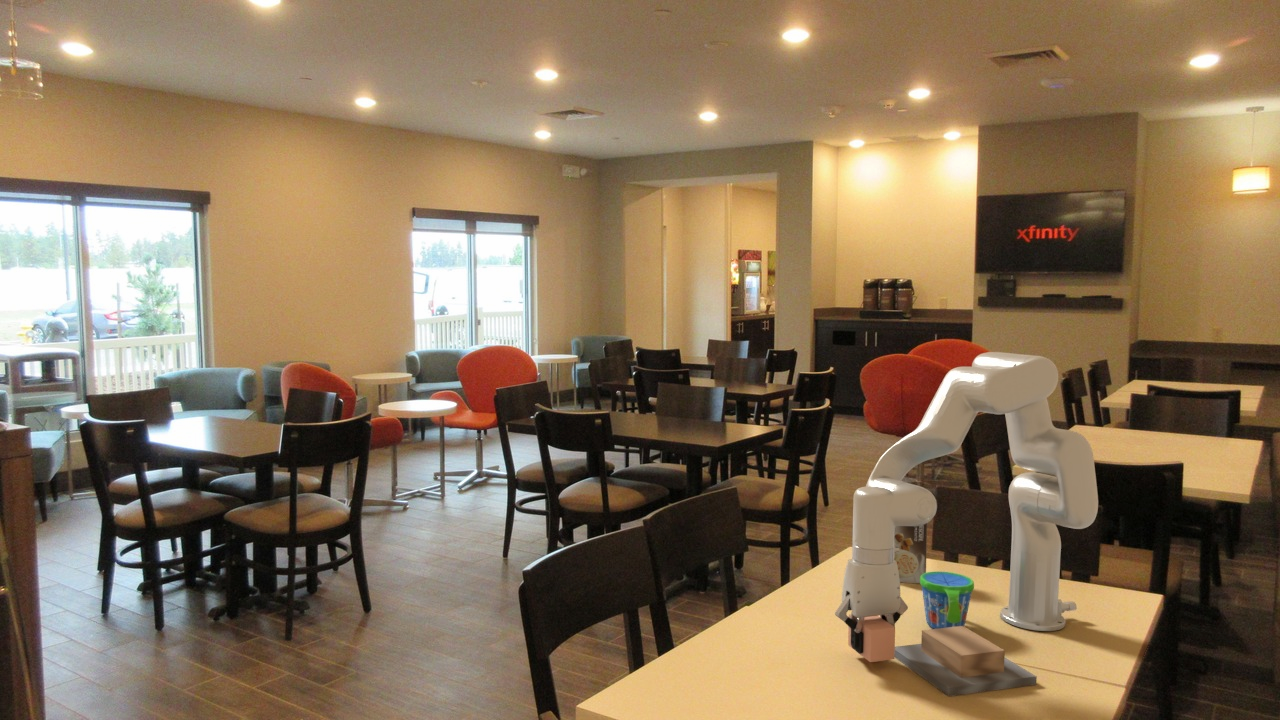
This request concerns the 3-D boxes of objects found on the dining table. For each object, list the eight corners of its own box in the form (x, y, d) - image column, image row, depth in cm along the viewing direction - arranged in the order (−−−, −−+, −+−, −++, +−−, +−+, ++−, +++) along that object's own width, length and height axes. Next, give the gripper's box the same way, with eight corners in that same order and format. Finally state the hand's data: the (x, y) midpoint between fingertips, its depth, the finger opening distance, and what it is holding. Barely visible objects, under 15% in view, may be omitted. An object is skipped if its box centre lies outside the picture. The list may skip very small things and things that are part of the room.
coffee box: (922, 576, 217) (924, 511, 215) (926, 584, 210) (928, 518, 209) (883, 573, 218) (885, 509, 217) (886, 582, 212) (888, 516, 211)
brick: (871, 642, 170) (872, 611, 170) (894, 658, 163) (895, 627, 162) (848, 645, 169) (848, 614, 168) (870, 662, 161) (871, 630, 161)
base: (971, 645, 174) (972, 618, 174) (1036, 684, 157) (1037, 654, 157) (891, 654, 169) (892, 626, 169) (948, 696, 152) (950, 665, 152)
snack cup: (916, 610, 193) (918, 565, 192) (967, 615, 190) (969, 569, 190) (920, 637, 178) (922, 588, 177) (976, 643, 175) (978, 593, 174)
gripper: (902, 544, 170) (899, 636, 172) (822, 552, 165) (820, 646, 167) (924, 556, 163) (922, 651, 164) (841, 564, 158) (840, 662, 160)
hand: (871, 647), depth 166 cm, fingers closed on brick, 5 cm apart
